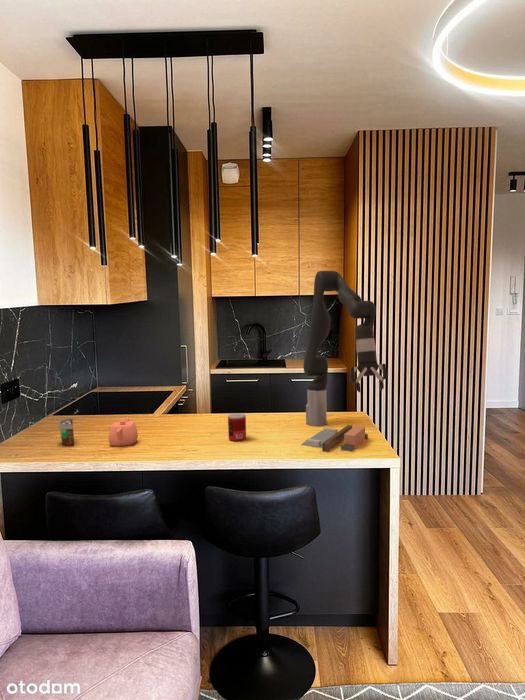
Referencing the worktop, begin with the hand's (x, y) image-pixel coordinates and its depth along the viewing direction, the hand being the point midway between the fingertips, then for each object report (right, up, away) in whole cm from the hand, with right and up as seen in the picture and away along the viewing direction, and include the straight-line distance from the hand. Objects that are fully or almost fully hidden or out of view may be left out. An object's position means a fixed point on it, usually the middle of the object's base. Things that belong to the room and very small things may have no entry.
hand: (370, 391), depth 203 cm
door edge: (-10, -23, +19) cm, 32 cm away
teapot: (-104, -25, +25) cm, 110 cm away
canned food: (-54, -24, +26) cm, 64 cm away
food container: (-130, -26, +26) cm, 135 cm away
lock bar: (-3, -24, +16) cm, 29 cm away
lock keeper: (-16, -23, +23) cm, 36 cm away
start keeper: (-3, -24, +15) cm, 28 cm away
